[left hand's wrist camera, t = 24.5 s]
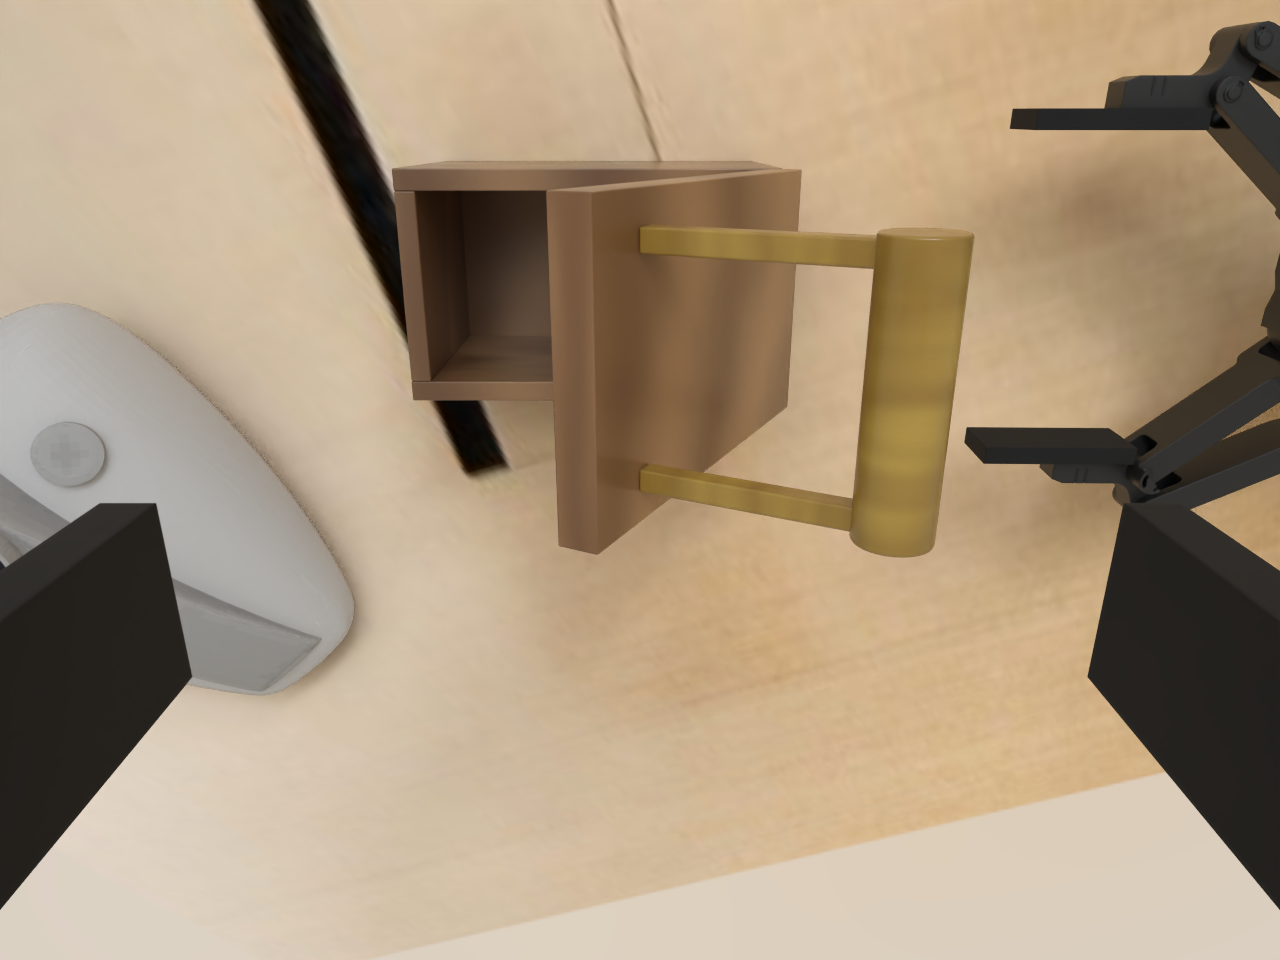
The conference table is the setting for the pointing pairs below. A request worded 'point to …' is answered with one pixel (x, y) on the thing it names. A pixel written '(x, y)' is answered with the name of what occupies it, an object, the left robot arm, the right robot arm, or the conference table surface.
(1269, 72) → the right robot arm
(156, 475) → the projector
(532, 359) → the chest
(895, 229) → the lid
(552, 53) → the conference table surface
